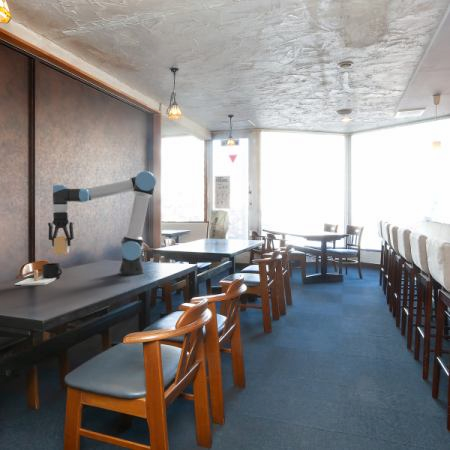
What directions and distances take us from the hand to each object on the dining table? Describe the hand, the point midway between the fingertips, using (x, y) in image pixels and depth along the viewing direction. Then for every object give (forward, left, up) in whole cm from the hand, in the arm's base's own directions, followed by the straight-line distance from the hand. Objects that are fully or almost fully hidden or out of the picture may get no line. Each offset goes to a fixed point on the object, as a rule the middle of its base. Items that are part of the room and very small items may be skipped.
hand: (61, 251), depth 214 cm
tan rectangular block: (0, 0, -1) cm, 1 cm away
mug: (+8, -7, -17) cm, 20 cm away
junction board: (+13, +2, -17) cm, 21 cm away
